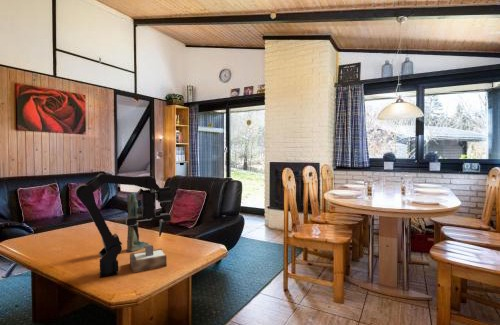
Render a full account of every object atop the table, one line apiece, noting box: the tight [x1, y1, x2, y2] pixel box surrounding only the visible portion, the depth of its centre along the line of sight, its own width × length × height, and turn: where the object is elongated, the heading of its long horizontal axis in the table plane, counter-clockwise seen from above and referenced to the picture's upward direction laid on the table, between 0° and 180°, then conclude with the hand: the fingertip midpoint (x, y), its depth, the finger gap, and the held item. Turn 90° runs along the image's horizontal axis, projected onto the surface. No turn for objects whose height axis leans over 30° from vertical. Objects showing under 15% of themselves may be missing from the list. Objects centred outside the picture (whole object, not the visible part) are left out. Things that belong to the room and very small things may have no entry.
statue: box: [125, 192, 149, 253], centre depth 152 cm, size 7×11×30 cm, turn 149°
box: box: [129, 248, 167, 273], centre depth 129 cm, size 14×12×4 cm
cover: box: [134, 244, 166, 260], centre depth 129 cm, size 12×9×5 cm
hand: (149, 238), depth 129 cm, fingers open, 9 cm apart
